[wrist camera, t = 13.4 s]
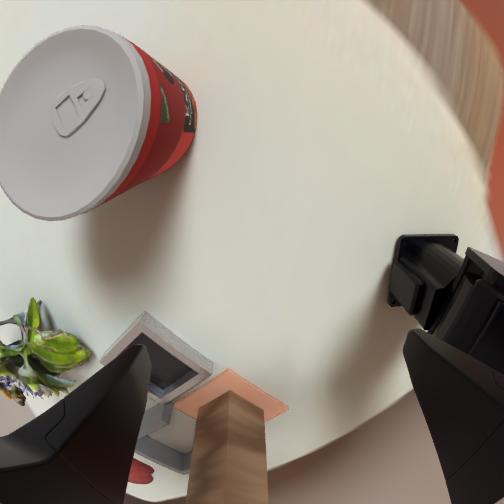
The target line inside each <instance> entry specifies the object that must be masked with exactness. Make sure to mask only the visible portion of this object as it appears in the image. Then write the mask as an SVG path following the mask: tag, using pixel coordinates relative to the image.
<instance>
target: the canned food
mask: <svg viewBox="0 0 504 504" xmlns="http://www.w3.org/2000/svg"><path fill="white" fill-rule="evenodd" d="M196 126H197V108H196V103H195V100H194V98H193V95H192V93H191V91H190V90H189V88H188V87H187V86H186V84H185V83H183V82H182V81H181V80H180V79H179V78H178V77H177V76H175V75H174V74H173V73H172V72H170V71H169V70H168V69H166V68H165V67H164V66H163V65H161V64H160V63H159V62H157V61H156V60H155V59H154V58H152V57H151V56H150V55H148V54H147V53H146V52H144V51H143V50H142V49H140V48H139V47H138V46H136V45H135V44H133V43H132V42H130V41H128V40H127V39H125V38H124V37H122V36H121V35H119V34H117V33H114V32H112V31H109V30H107V29H103V28H101V27H97V26H86V25H82V26H75V27H70V28H66V29H63V30H61V31H58V32H56V33H53V34H51V35H50V36H48V37H46V38H45V39H43V40H42V41H40V42H39V43H37V44H36V45H35V46H34V47H33V48H32V49H31V50H29V51H28V52H27V53H26V54H25V55H24V56H23V57H22V59H21V60H20V61H19V62H18V64H17V65H16V66H15V67H14V69H13V70H12V72H11V73H10V75H9V77H8V78H7V80H6V82H5V84H4V86H3V88H2V90H1V93H0V185H1V187H2V189H3V191H4V193H5V194H6V195H7V197H8V198H9V199H10V200H11V202H12V203H13V204H14V205H15V206H16V207H18V208H19V209H20V210H21V211H23V212H24V213H26V214H28V215H30V216H32V217H34V218H36V219H41V220H46V221H58V220H65V219H68V218H71V217H75V216H78V215H80V214H84V213H86V212H88V211H90V210H91V209H93V208H95V207H98V206H99V205H101V204H103V203H105V202H107V201H108V200H110V199H112V198H114V197H116V196H118V195H119V194H121V193H123V192H125V191H127V190H129V189H131V188H132V187H134V186H136V185H138V184H140V183H142V182H144V181H146V180H148V179H150V178H152V177H154V176H156V175H158V174H160V173H162V172H164V171H166V170H167V169H169V168H170V167H171V166H173V165H174V164H175V163H176V162H177V161H178V160H179V159H180V158H181V157H182V156H183V155H184V153H185V152H186V150H187V149H188V147H189V146H190V144H191V141H192V139H193V137H194V134H195V130H196Z"/></svg>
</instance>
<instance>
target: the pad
mask: <svg viewBox="0 0 504 504" xmlns="http://www.w3.org/2000/svg"><path fill="white" fill-rule="evenodd" d="M229 390H231V391H233V392H234V393H236V394H237V395H239V396H241V397H242V398H244V399H246V400H247V401H249V402H251V403H252V404H254V405H256V406H258V407H259V408H261V409H263V410H264V422H266V421H268V420H270V419H272V418H274V417H276V416H278V415H280V414H281V413H283V412H285V411H287V410H289V407H288V406H286V405H285V404H283V403H281V402H280V401H278V400H276V399H275V398H273V397H271V396H270V395H268V394H267V393H265V392H263V391H262V390H260V389H259V388H257V387H255V386H254V385H252V384H251V383H249V382H248V381H246V380H245V379H243V378H242V377H240V376H239V375H237V374H236V373H234V372H233V371H231V370H230V369H227V370H225V371H224V372H222V373H221V374H219V375H218V376H216V377H215V378H213V379H212V380H210V381H209V382H207V383H206V384H204V385H202V386H201V387H199V388H198V389H196V390H195V391H193V392H191V393H190V394H188V395H187V396H185V397H183V398H182V399H180V400H178V401H177V402H175V403H173V407H175V408H177V409H178V410H180V411H182V412H184V413H185V414H187V415H189V416H191V417H192V418H194V419H196V420H197V415H198V408H199V407H201V406H203V405H205V404H207V403H208V402H210V401H212V400H214V399H215V398H217V397H219V396H221V395H222V394H224V393H226V392H227V391H229Z"/></svg>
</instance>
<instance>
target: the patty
mask: <svg viewBox="0 0 504 504" xmlns="http://www.w3.org/2000/svg"><path fill="white" fill-rule="evenodd" d="M153 472H154V469H153V468H152V467H150V466H149V465H147V464H144V463H142V462H140V461H138V460H136V459H134V458H133V460H132V465H131V469H130V474H129V478H128V482H131V483H136V484H148V483H150V482H152V481H153V477H152V476H151V474H152V473H153Z"/></svg>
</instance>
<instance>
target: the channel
mask: <svg viewBox="0 0 504 504" xmlns="http://www.w3.org/2000/svg"><path fill="white" fill-rule="evenodd" d="M172 407H173V403H172V402H170V401H169V402H167V403H166V404H164V405H161V404H157V405H156V406H154V407H152V408H151V409H149V410H148V411H146V412H144V415H143V419H142V423H141V427H140V431H139V435H138V439H137V443H136V447H135V453H137V454H139V455H141V456H143V457H145V458H147V459H149V460H151V461H153V462H155V463H158V464H160V465H162V466H164V467H166V468H169V469H171V470H173V471H176V472H178V473H180V474H183V475H185V474H188V473H190V466H191V458H192V452H191V453H188V454H185V455H184V454H182V453H179V452H177V451H175V450H173V449H171V448H169V447H167V446H165V445H163V444H161V443H159V442H157V441H155V440H154V439H152V438H150V437H148V436H146V435H148V434H150V433H152V432H154V431H156V430H158V429H160V428H162V427H164V426H166V425H168V424H169V420H170V416H171V411H172Z"/></svg>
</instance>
